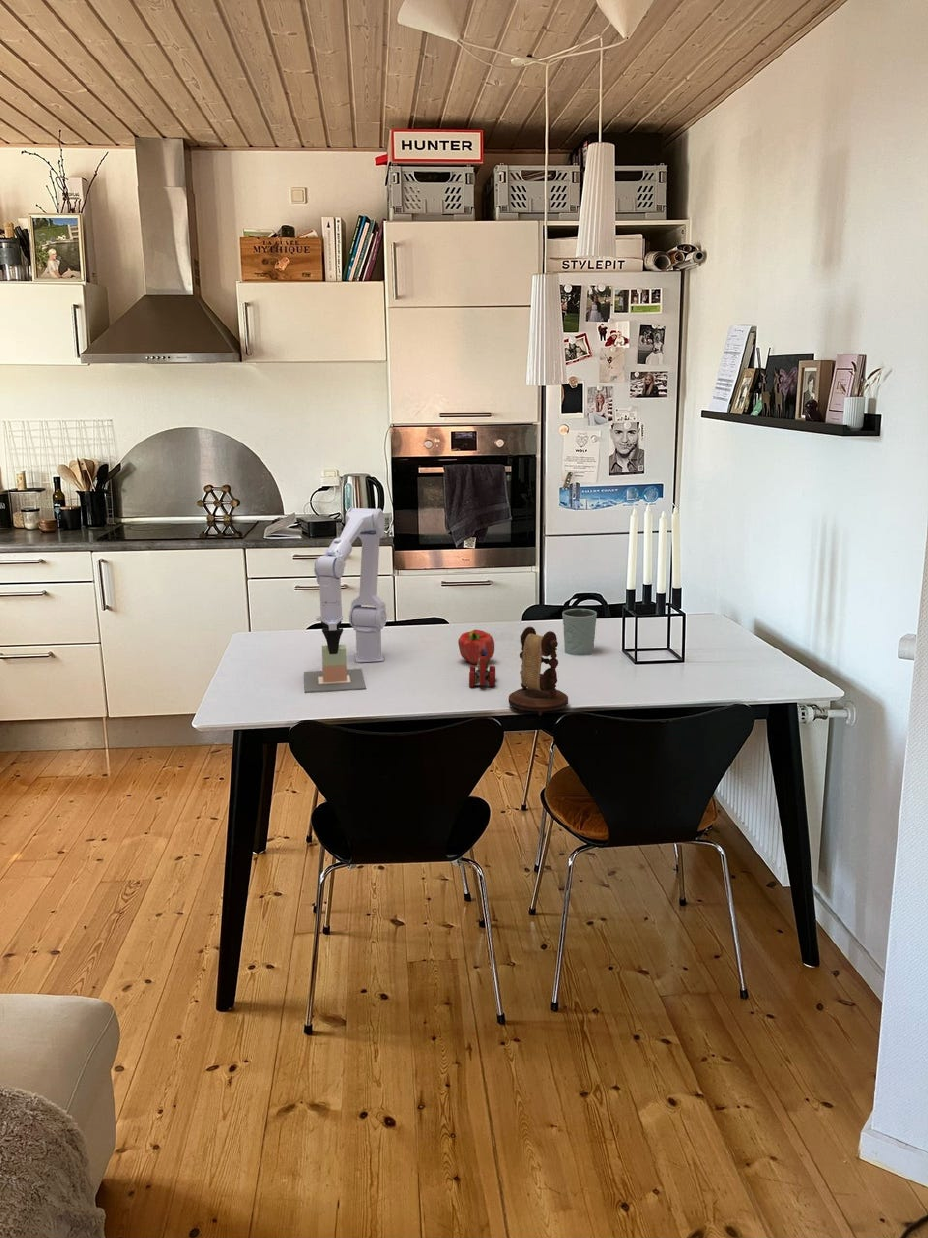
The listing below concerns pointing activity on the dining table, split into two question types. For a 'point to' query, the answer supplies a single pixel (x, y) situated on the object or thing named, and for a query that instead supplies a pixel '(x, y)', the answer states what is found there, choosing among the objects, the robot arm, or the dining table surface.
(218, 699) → the dining table surface
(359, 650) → the robot arm
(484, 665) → the toy fire truck
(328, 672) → the terracotta brick
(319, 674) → the mat
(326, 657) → the sage brick
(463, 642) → the vegetable
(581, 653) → the grey green cup
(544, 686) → the scroll
